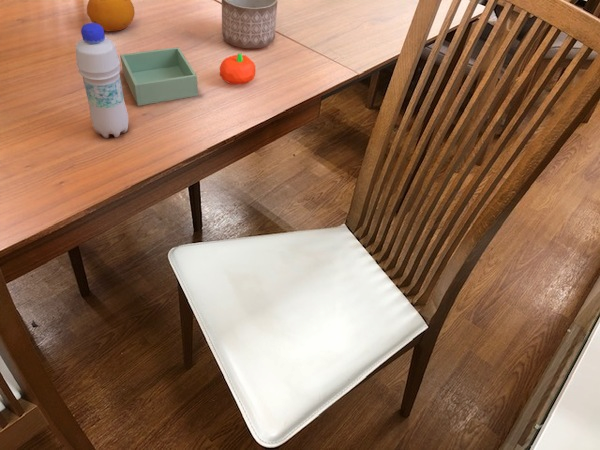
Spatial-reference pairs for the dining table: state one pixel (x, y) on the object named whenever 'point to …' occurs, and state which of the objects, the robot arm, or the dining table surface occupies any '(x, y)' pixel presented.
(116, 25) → the fruit
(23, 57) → the dining table surface
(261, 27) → the planter
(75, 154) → the dining table surface
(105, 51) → the bottle
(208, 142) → the dining table surface
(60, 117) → the dining table surface
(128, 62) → the tub
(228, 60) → the pumpkin
